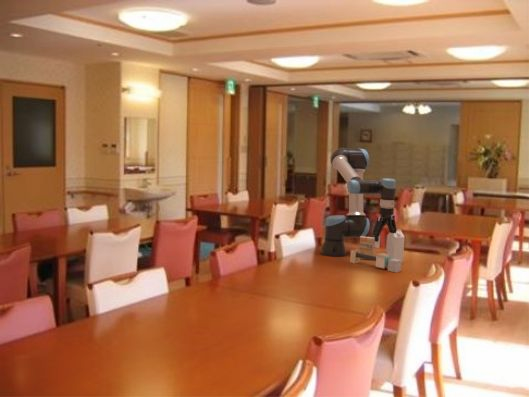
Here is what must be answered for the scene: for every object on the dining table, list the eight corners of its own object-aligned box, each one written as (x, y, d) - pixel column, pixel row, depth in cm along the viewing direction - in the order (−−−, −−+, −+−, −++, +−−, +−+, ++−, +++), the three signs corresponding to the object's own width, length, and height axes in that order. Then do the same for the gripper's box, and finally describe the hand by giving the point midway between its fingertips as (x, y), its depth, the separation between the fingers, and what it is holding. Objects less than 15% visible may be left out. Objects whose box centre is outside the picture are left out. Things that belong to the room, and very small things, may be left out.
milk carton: (385, 260, 330) (387, 228, 329) (395, 260, 334) (397, 228, 332) (392, 263, 324) (395, 230, 322) (402, 262, 327) (405, 230, 325)
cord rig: (350, 262, 321) (350, 250, 320) (355, 261, 324) (355, 249, 323) (395, 272, 300) (396, 259, 300) (400, 271, 304) (401, 258, 303)
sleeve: (375, 266, 308) (376, 254, 307) (382, 265, 313) (382, 253, 312) (383, 268, 305) (384, 255, 304) (389, 266, 309) (390, 254, 308)
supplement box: (358, 259, 332) (359, 237, 330) (359, 257, 336) (360, 235, 335) (372, 260, 329) (374, 238, 328) (373, 259, 334) (374, 237, 333)
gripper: (379, 209, 294) (376, 250, 296) (405, 206, 312) (401, 244, 314) (367, 207, 299) (364, 247, 302) (393, 205, 317) (390, 242, 319)
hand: (383, 246), depth 308 cm, fingers open, 13 cm apart
